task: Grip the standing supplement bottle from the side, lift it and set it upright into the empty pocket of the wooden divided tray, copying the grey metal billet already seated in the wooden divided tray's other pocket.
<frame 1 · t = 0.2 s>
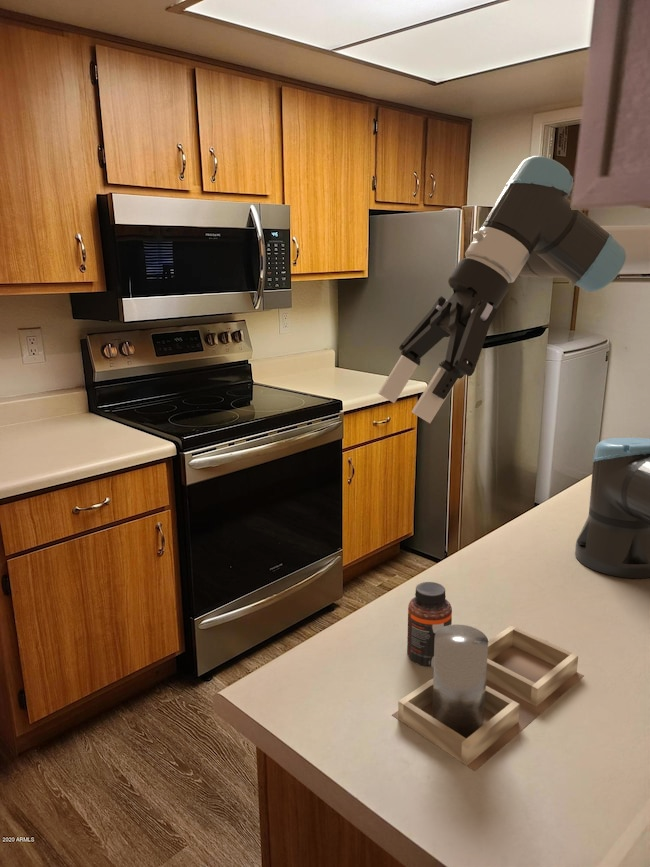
hand: (401, 407, 86), 35 cm above the countertop, tool tilted 35°, fingers open, 13 cm apart
supplement bottle: (428, 662, 89), on the countertop
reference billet: (457, 720, 76), point 1 cm above the countertop, touching wooden divided tray
wooden divided tray: (491, 702, 80), on the countertop
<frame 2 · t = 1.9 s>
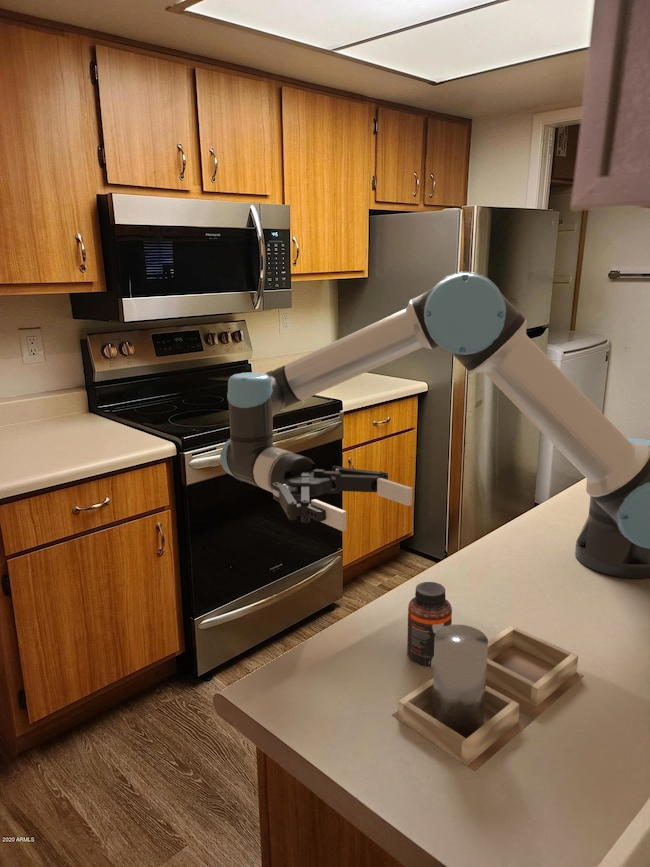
hand: (379, 508, 91), 20 cm above the countertop, tool horizontal, fingers open, 13 cm apart
nothing on the countertop moved.
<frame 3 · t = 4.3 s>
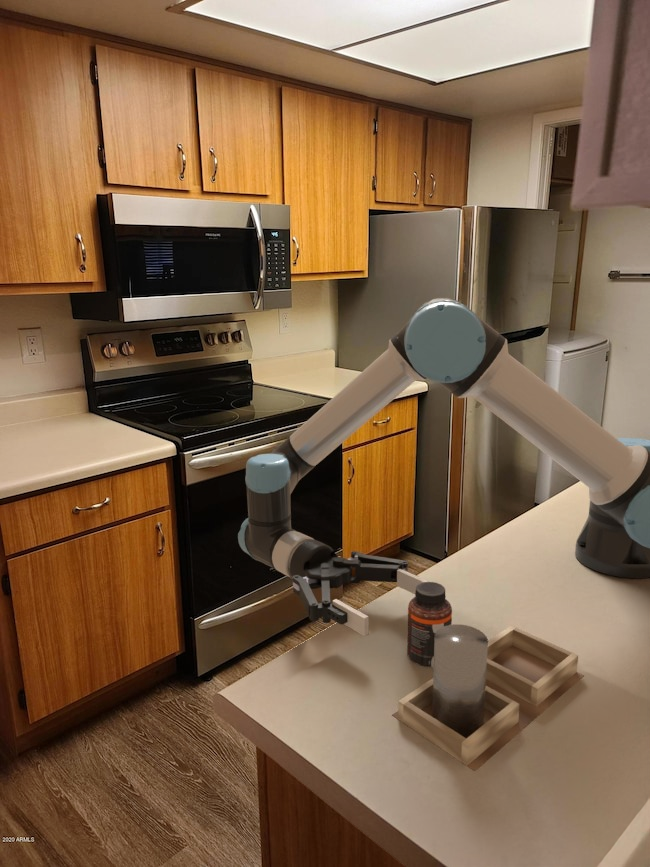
hand: (400, 608, 91), 6 cm above the countertop, tool horizontal, fingers open, 13 cm apart
nothing on the countertop moved.
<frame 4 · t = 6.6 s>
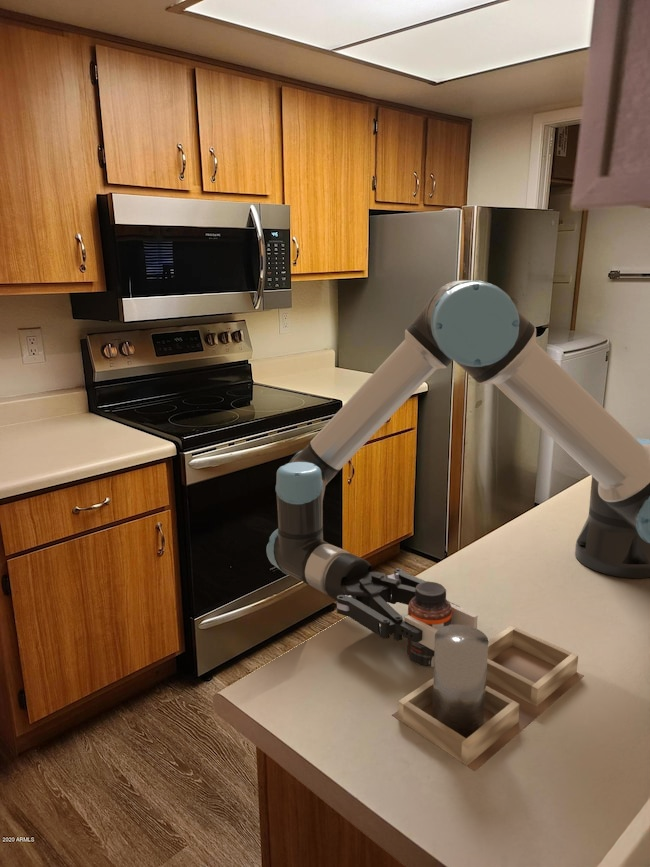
hand: (460, 634, 84), 7 cm above the countertop, tool horizontal, fingers closed on supplement bottle, 6 cm apart
supplement bottle: (428, 662, 89), on the countertop, touching gripper
everything else where it was.
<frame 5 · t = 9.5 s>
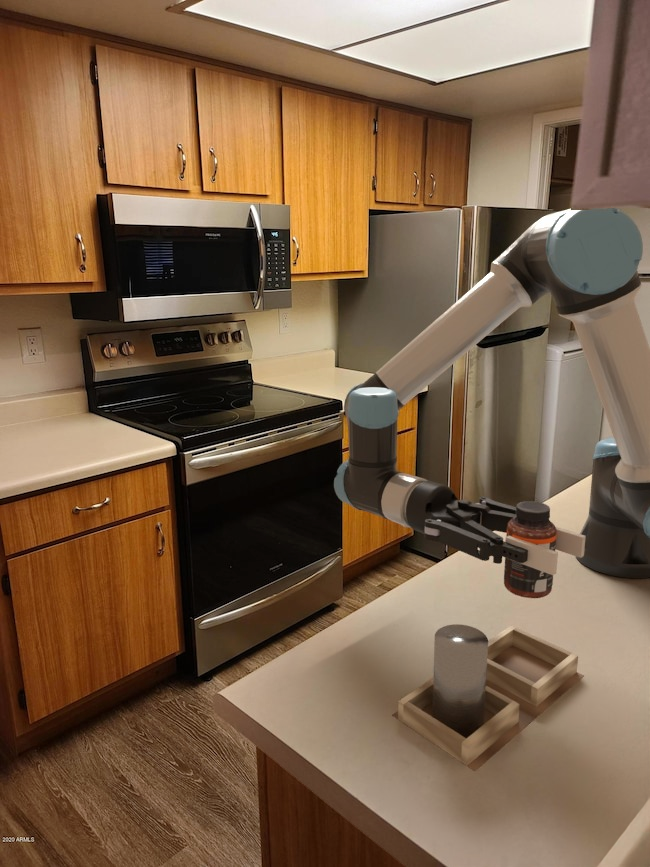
hand: (569, 554, 76), 20 cm above the countertop, tool horizontal, fingers closed on supplement bottle, 6 cm apart
supplement bottle: (527, 590, 82), point 13 cm above the countertop, touching gripper
everything else where it was.
when the fingers open (9 cm above the countertop, at t = 12.6 s): supplement bottle drops 1 cm, resting on wooden divided tray.
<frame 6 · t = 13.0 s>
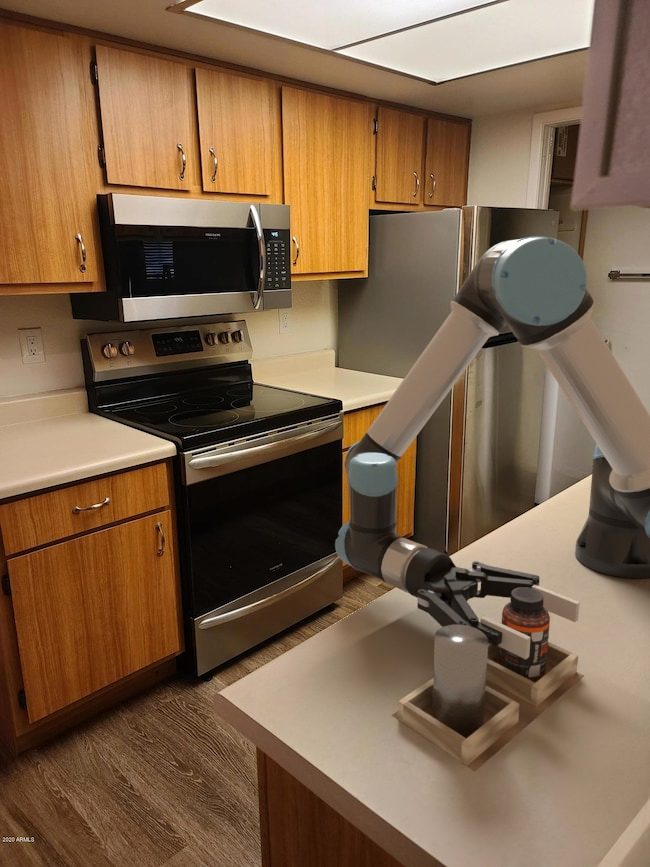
hand: (554, 629, 80), 9 cm above the countertop, tool horizontal, fingers open, 11 cm apart
supplement bottle: (521, 672, 85), point 1 cm above the countertop, touching wooden divided tray
everything else where it was.
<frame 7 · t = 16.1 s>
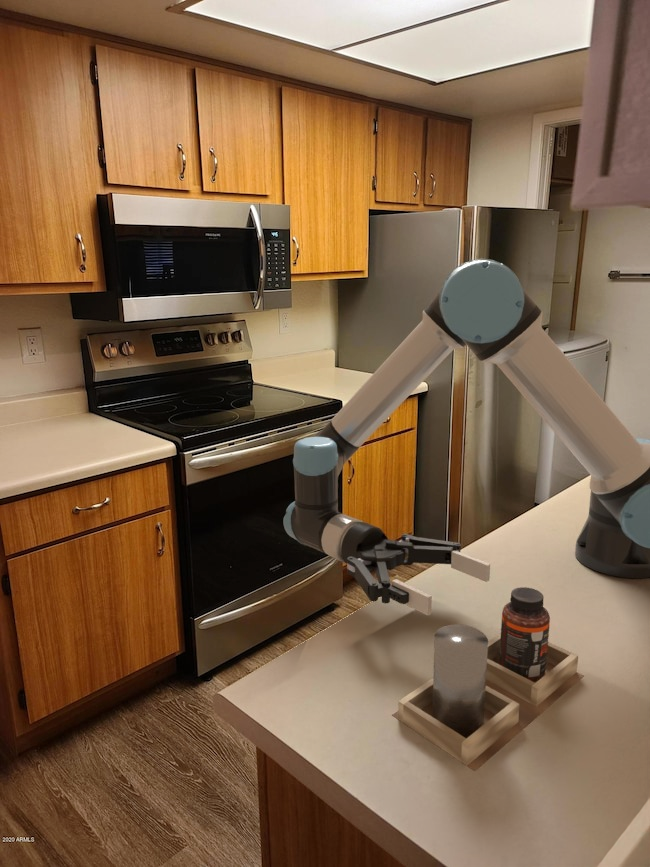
hand: (460, 588, 90), 9 cm above the countertop, tool horizontal, fingers open, 13 cm apart
nothing on the countertop moved.
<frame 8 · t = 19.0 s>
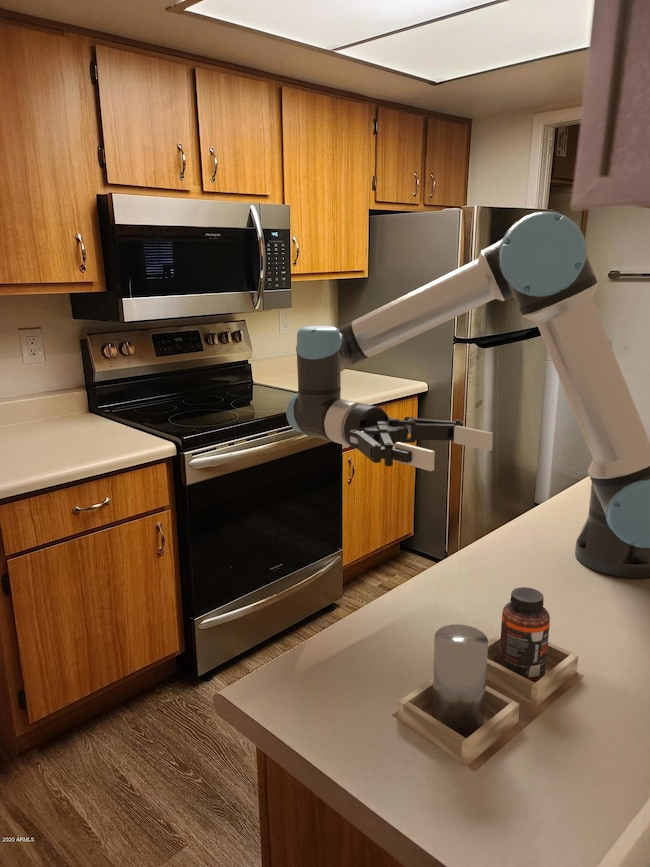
hand: (463, 451, 90), 28 cm above the countertop, tool horizontal, fingers open, 13 cm apart
nothing on the countertop moved.
at the end: supplement bottle 0.1 cm from the target spot on the wooden divided tray, point 1.0 cm above the wooden divided tray's base; supplement bottle tilted 0°; the gripper is holding nothing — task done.
